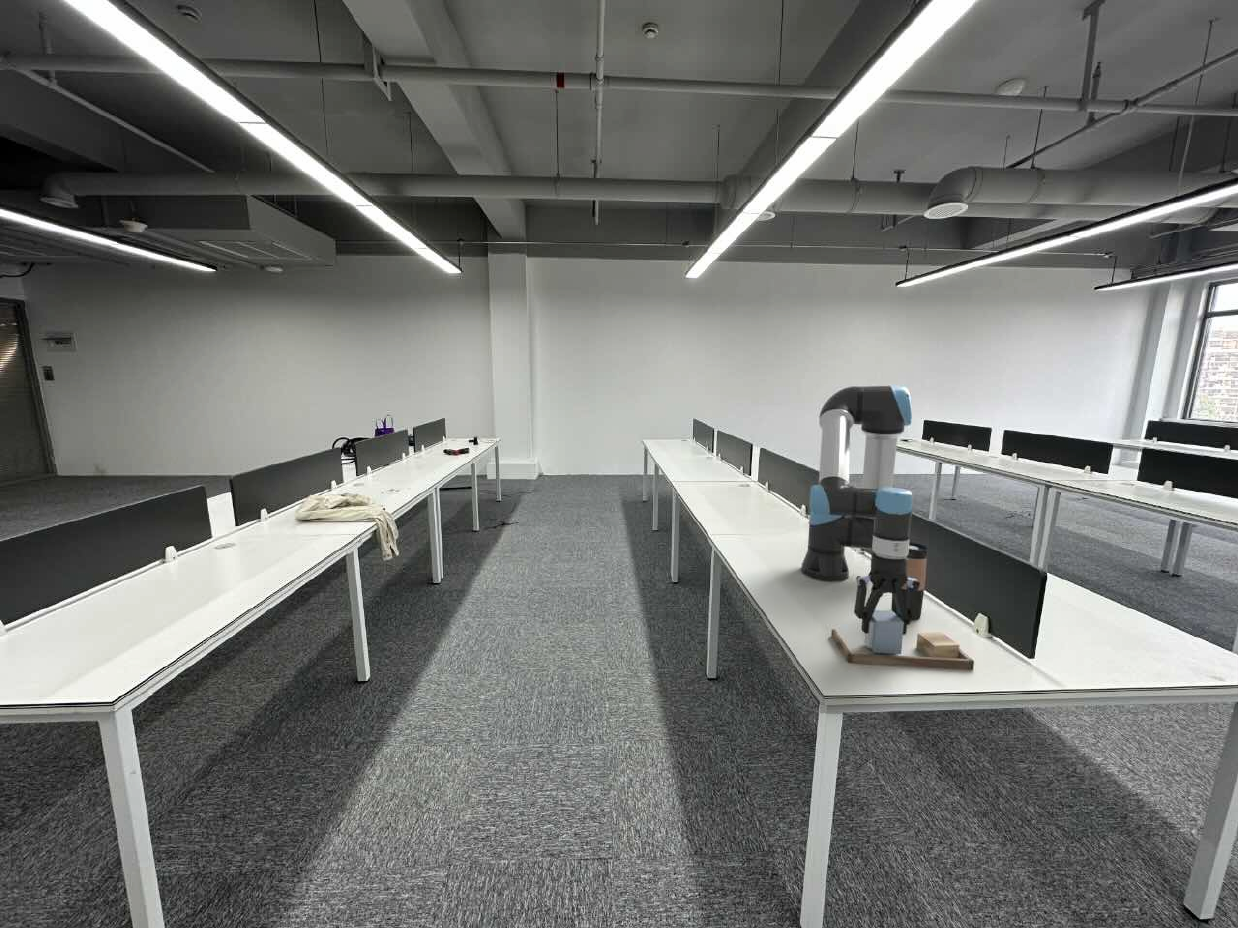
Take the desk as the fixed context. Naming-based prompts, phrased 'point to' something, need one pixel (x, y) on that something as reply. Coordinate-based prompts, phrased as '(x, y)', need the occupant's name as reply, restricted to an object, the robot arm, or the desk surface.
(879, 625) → the slate block
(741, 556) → the desk surface
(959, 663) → the bay
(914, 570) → the travel mug
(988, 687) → the desk surface
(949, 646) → the oak block
